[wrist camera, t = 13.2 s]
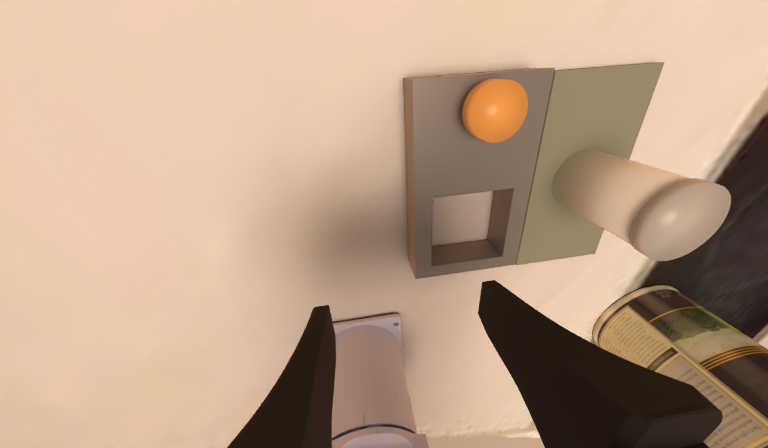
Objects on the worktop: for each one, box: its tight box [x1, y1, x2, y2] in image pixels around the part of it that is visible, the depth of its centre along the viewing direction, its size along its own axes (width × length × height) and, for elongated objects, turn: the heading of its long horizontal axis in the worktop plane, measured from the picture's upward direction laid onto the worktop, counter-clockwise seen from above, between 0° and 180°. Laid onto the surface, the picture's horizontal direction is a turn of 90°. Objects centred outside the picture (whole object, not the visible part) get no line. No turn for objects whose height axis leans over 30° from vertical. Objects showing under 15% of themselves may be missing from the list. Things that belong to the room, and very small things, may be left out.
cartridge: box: [552, 149, 731, 261], centre depth 18 cm, size 5×5×8 cm
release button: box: [462, 79, 528, 143], centre depth 16 cm, size 3×3×4 cm
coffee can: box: [593, 285, 768, 448], centre depth 26 cm, size 10×10×14 cm
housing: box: [403, 68, 555, 279], centre depth 19 cm, size 14×8×2 cm, turn 4°
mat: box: [515, 62, 664, 265], centre depth 22 cm, size 15×8×1 cm, turn 4°
